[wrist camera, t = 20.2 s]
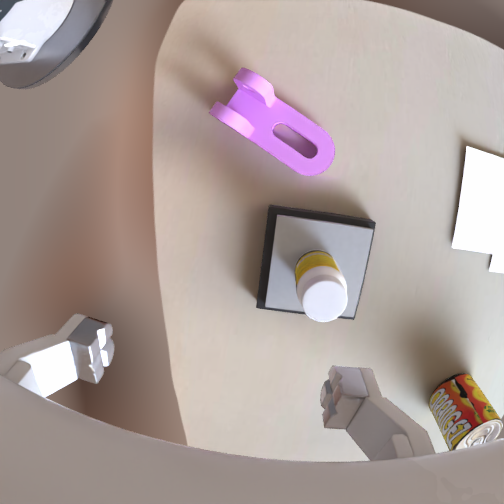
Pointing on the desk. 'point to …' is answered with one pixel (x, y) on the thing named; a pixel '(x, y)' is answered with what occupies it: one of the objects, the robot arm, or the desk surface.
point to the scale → (305, 239)
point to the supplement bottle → (320, 286)
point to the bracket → (273, 123)
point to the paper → (482, 207)
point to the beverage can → (464, 413)
